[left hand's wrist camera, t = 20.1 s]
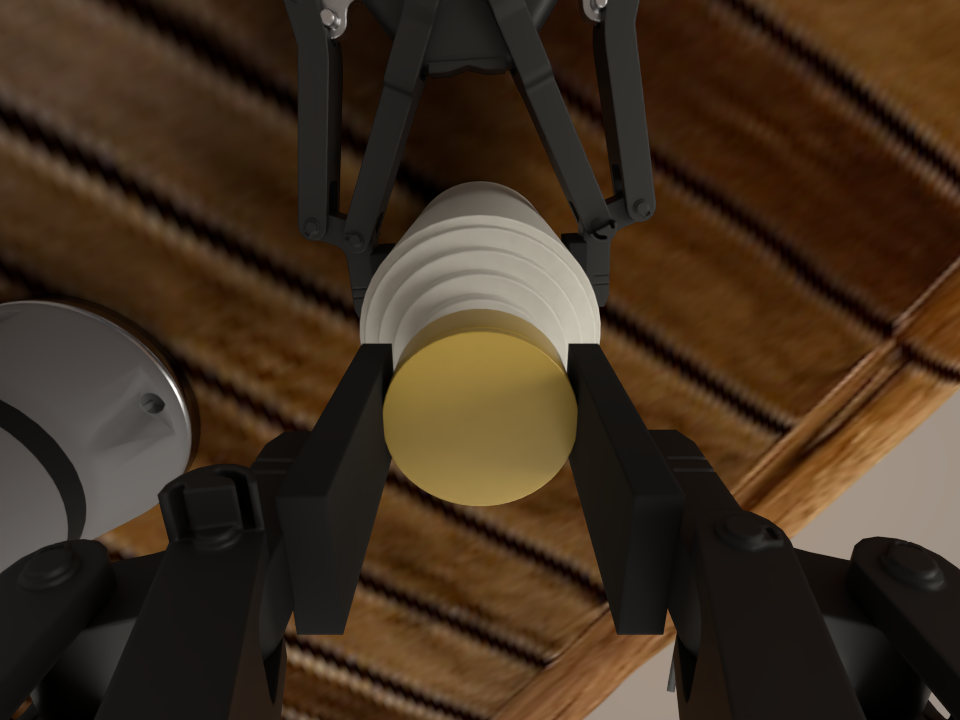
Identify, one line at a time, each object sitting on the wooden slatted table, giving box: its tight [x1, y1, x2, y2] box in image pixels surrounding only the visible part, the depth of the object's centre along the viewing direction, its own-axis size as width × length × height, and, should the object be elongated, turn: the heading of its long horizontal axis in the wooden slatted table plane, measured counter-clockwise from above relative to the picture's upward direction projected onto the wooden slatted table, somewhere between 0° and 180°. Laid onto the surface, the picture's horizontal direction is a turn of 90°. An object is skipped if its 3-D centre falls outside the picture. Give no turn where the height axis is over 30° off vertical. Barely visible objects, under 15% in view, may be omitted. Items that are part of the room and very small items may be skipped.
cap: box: [383, 309, 578, 506], centre depth 14 cm, size 5×5×2 cm
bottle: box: [360, 181, 600, 372], centre depth 23 cm, size 8×8×20 cm
